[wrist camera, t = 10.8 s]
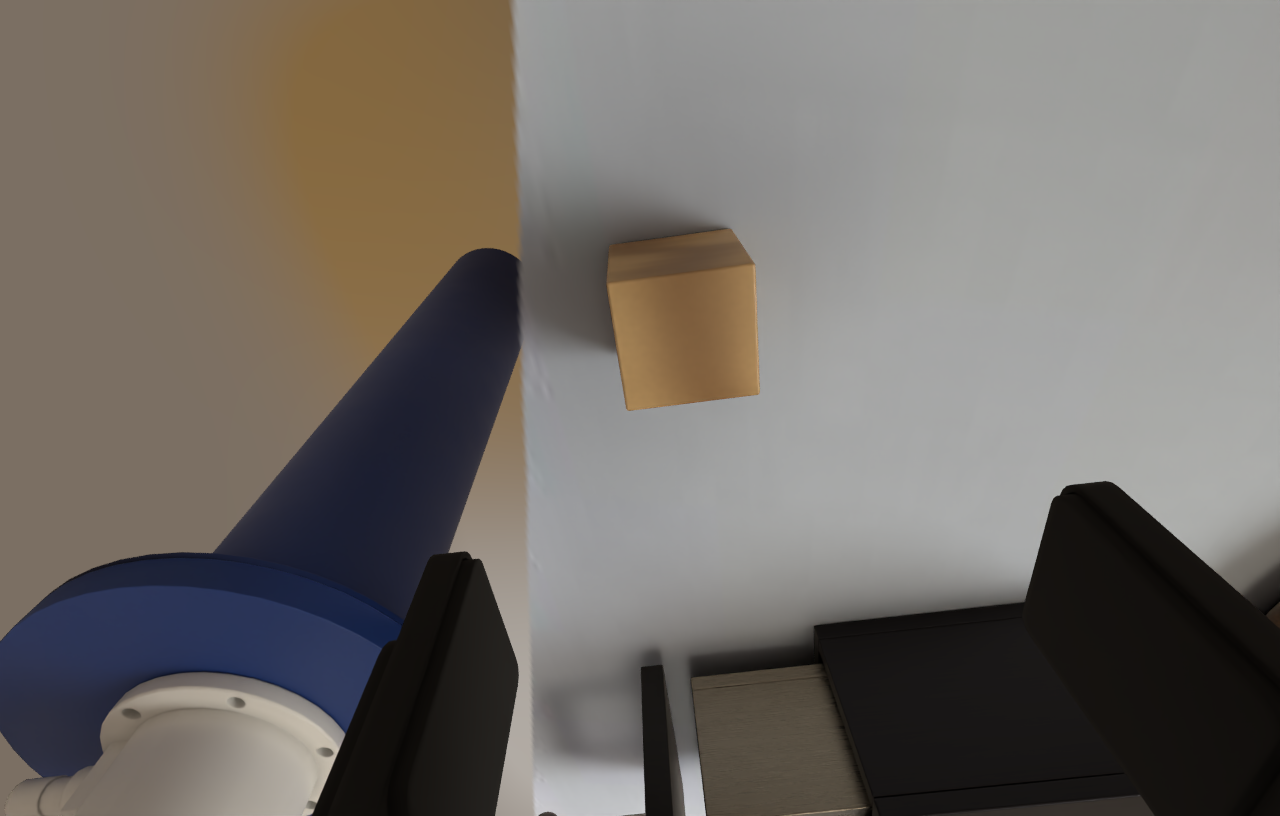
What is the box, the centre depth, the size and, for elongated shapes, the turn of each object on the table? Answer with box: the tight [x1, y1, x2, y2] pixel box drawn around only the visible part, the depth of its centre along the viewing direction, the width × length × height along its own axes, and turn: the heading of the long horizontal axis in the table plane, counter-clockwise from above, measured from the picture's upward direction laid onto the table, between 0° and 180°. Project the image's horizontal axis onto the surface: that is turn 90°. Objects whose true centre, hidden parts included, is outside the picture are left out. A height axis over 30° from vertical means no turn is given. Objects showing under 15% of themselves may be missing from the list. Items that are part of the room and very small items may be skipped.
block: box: [606, 229, 760, 411], centre depth 22 cm, size 5×5×5 cm
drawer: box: [539, 663, 873, 816], centre depth 32 cm, size 19×12×8 cm, turn 97°
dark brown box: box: [814, 603, 1154, 816], centre depth 32 cm, size 15×13×10 cm
